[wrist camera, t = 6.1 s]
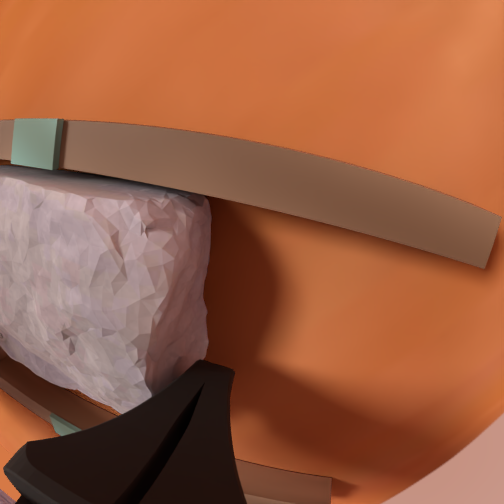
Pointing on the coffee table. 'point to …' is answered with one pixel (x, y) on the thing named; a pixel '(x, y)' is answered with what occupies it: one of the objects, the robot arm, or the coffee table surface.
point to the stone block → (102, 281)
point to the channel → (248, 192)
